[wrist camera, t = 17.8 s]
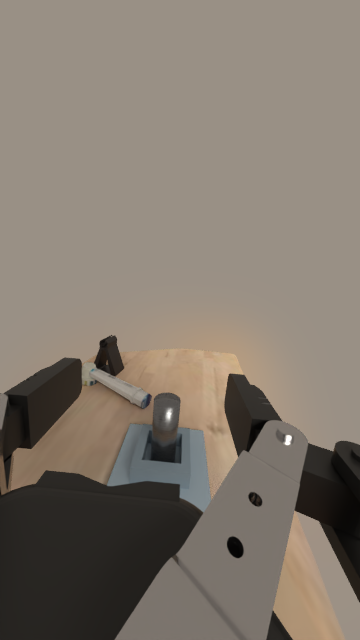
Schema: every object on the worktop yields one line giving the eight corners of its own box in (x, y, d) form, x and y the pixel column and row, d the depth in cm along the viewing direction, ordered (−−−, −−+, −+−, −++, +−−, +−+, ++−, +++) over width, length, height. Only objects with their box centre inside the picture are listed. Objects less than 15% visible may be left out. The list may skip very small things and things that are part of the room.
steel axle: (148, 470, 34) (152, 407, 31) (152, 448, 38) (156, 391, 35) (174, 472, 34) (180, 409, 31) (175, 450, 38) (180, 393, 35)
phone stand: (91, 371, 68) (91, 338, 65) (101, 364, 73) (101, 333, 71) (115, 376, 66) (116, 342, 64) (124, 368, 72) (125, 337, 69)
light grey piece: (142, 399, 49) (75, 360, 59) (138, 421, 51) (73, 380, 61) (154, 390, 54) (90, 355, 63) (150, 410, 55) (88, 373, 65)
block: (99, 512, 28) (99, 487, 27) (130, 429, 44) (131, 411, 43) (211, 524, 28) (215, 499, 27) (202, 436, 44) (204, 418, 43)
